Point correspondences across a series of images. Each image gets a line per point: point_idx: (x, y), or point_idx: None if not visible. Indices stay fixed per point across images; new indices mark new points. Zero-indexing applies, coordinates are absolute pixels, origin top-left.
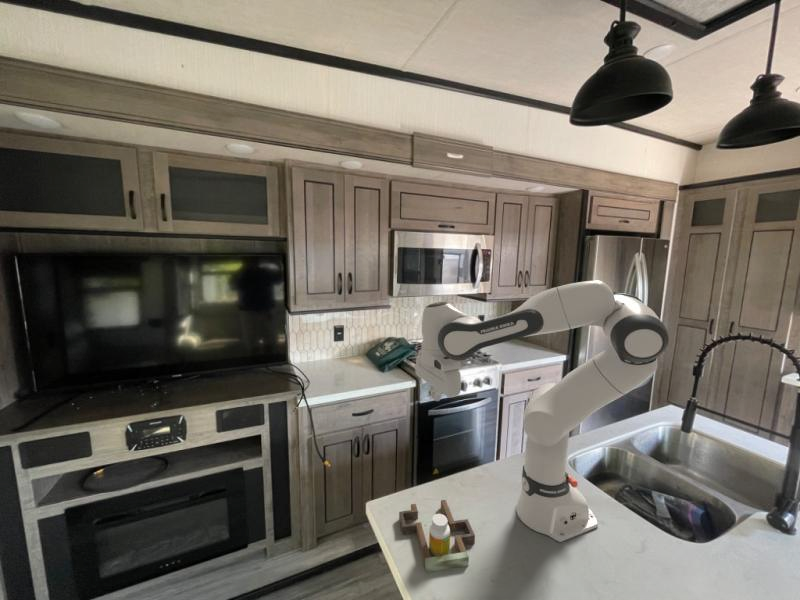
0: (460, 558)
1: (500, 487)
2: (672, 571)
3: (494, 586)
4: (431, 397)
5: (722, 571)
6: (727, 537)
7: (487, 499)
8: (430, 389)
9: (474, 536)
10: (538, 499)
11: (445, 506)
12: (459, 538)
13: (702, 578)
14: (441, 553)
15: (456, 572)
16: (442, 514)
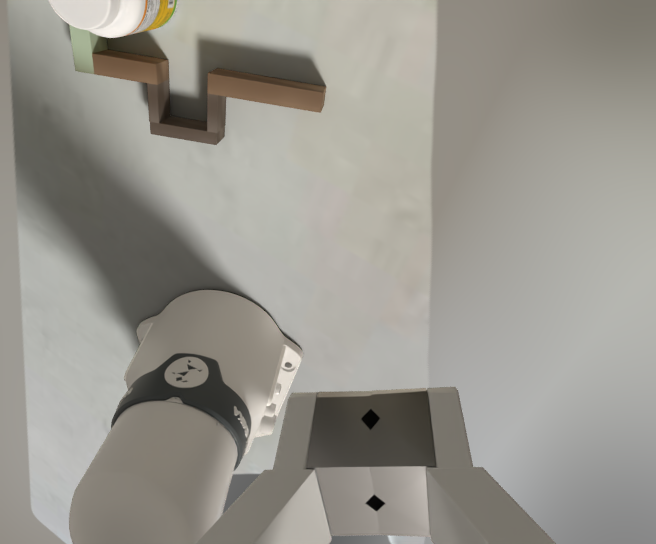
0: (71, 40)
1: (343, 313)
2: (65, 434)
3: (30, 105)
4: (433, 388)
5: (64, 484)
6: None
7: (310, 253)
8: (487, 527)
9: (151, 131)
10: (152, 364)
11: (289, 95)
12: (145, 76)
13: (52, 455)
14: None
15: None
16: (104, 18)
